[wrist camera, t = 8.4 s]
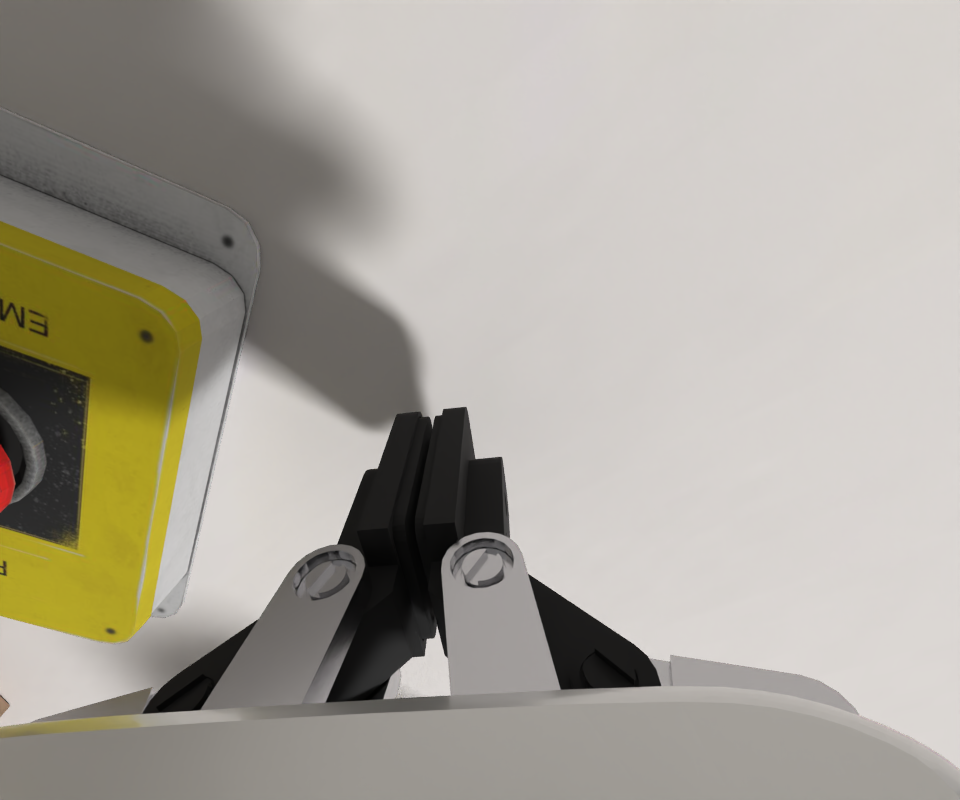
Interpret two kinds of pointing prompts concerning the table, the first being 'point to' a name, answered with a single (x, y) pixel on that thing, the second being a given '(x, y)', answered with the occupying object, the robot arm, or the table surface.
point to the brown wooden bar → (3, 706)
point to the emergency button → (109, 379)
